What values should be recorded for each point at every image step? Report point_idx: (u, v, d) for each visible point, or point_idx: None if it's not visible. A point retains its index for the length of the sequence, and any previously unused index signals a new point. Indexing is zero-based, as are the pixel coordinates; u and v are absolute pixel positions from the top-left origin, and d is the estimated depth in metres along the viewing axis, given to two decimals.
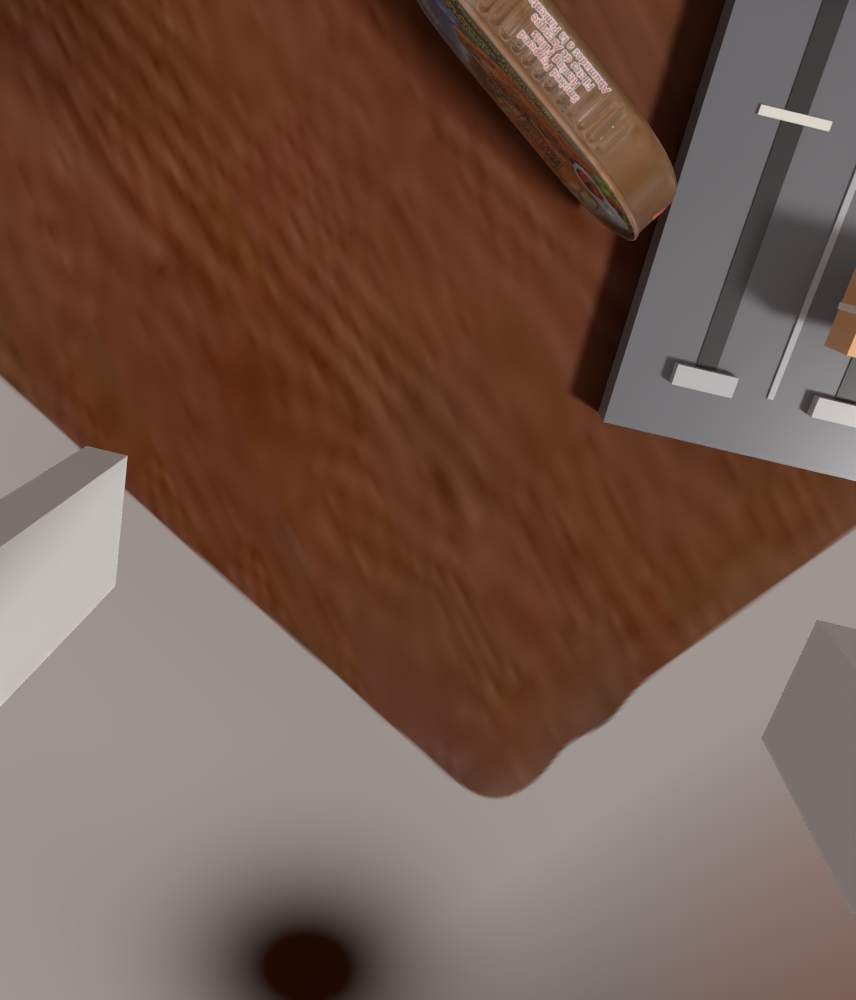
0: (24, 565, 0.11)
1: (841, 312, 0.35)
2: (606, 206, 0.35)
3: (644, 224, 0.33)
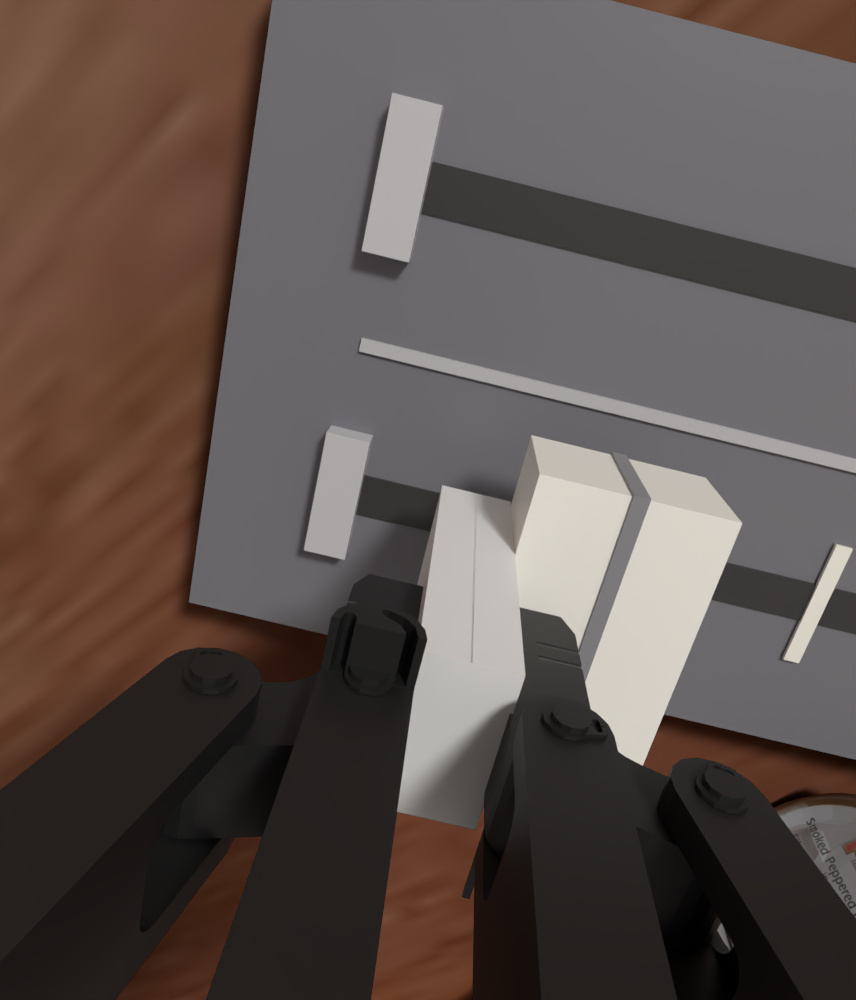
0: None
1: None
2: None
3: None
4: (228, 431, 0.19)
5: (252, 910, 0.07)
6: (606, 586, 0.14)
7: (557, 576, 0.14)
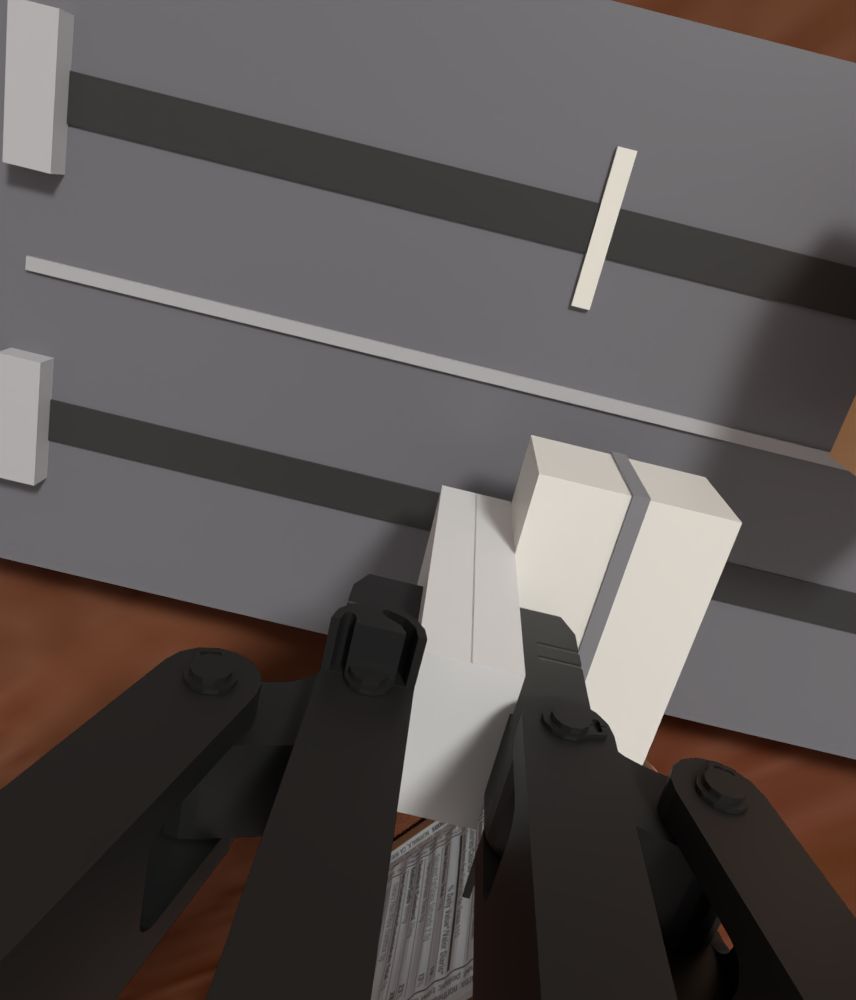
0: None
1: None
2: None
3: None
4: None
5: (252, 910, 0.07)
6: (605, 586, 0.14)
7: (557, 575, 0.14)
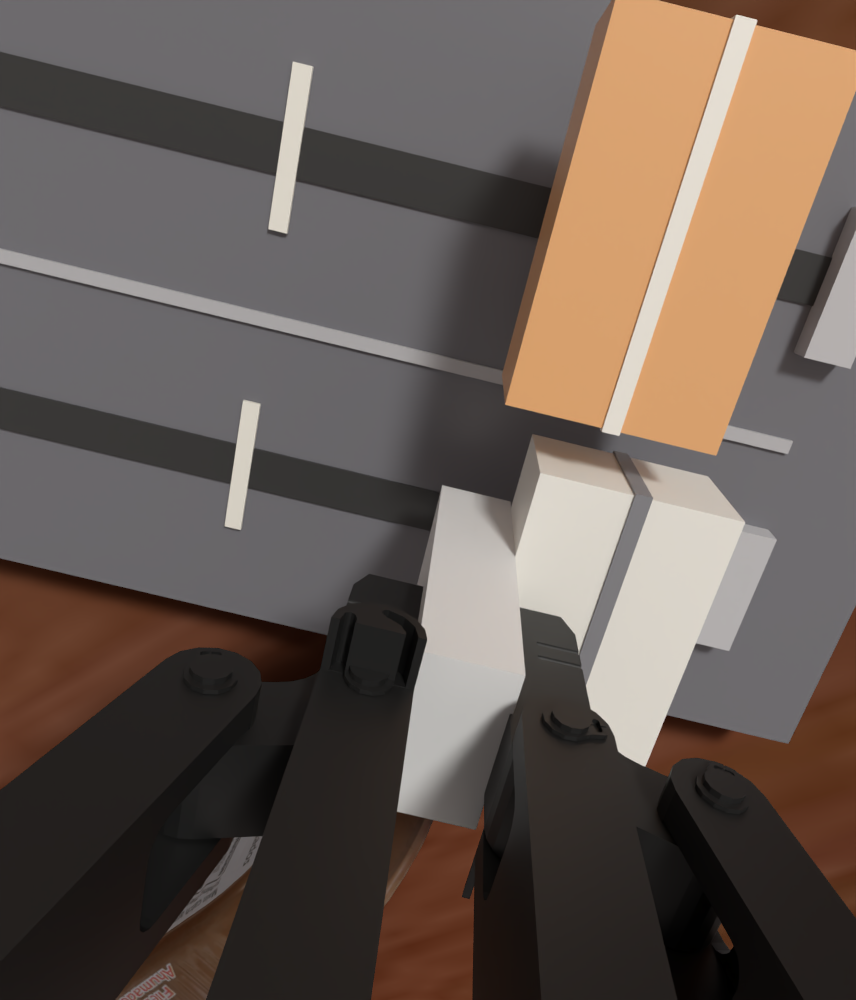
0: None
1: None
2: None
3: None
4: None
5: (252, 910, 0.07)
6: (607, 585, 0.14)
7: (559, 575, 0.14)
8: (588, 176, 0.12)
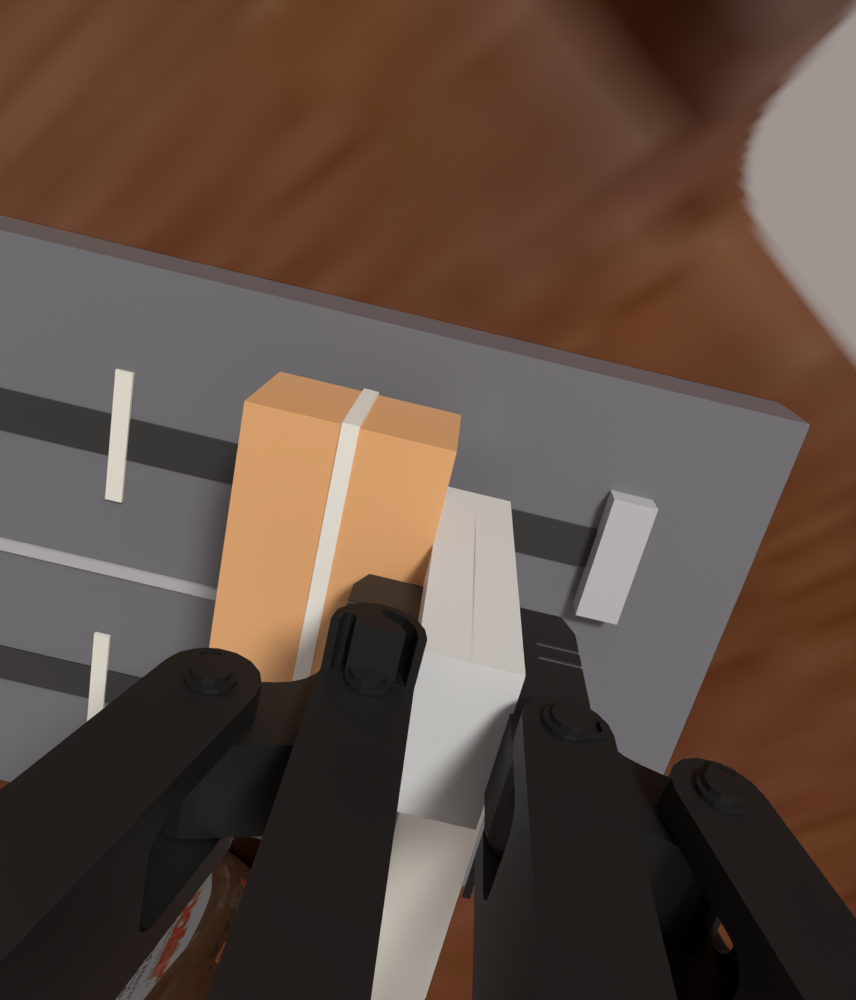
0: None
1: None
2: None
3: None
4: None
5: (252, 910, 0.07)
6: None
7: None
8: (243, 533, 0.14)
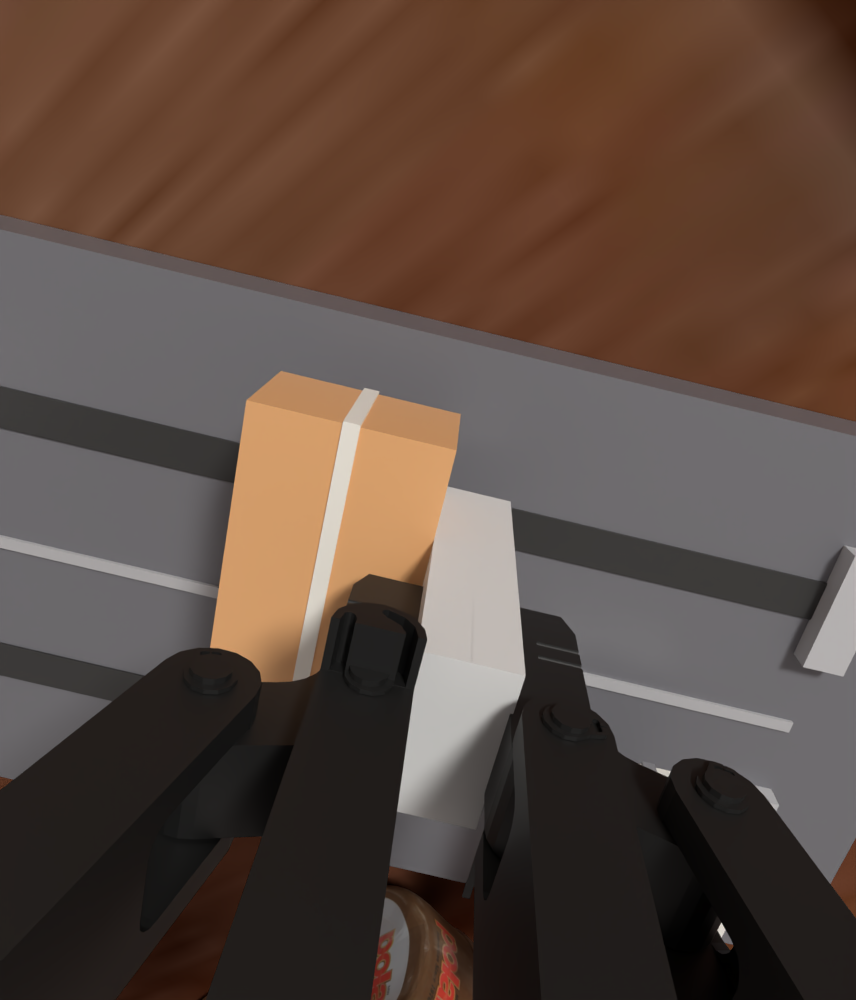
0: None
1: None
2: None
3: None
4: None
5: (252, 910, 0.07)
6: None
7: None
8: (245, 531, 0.14)
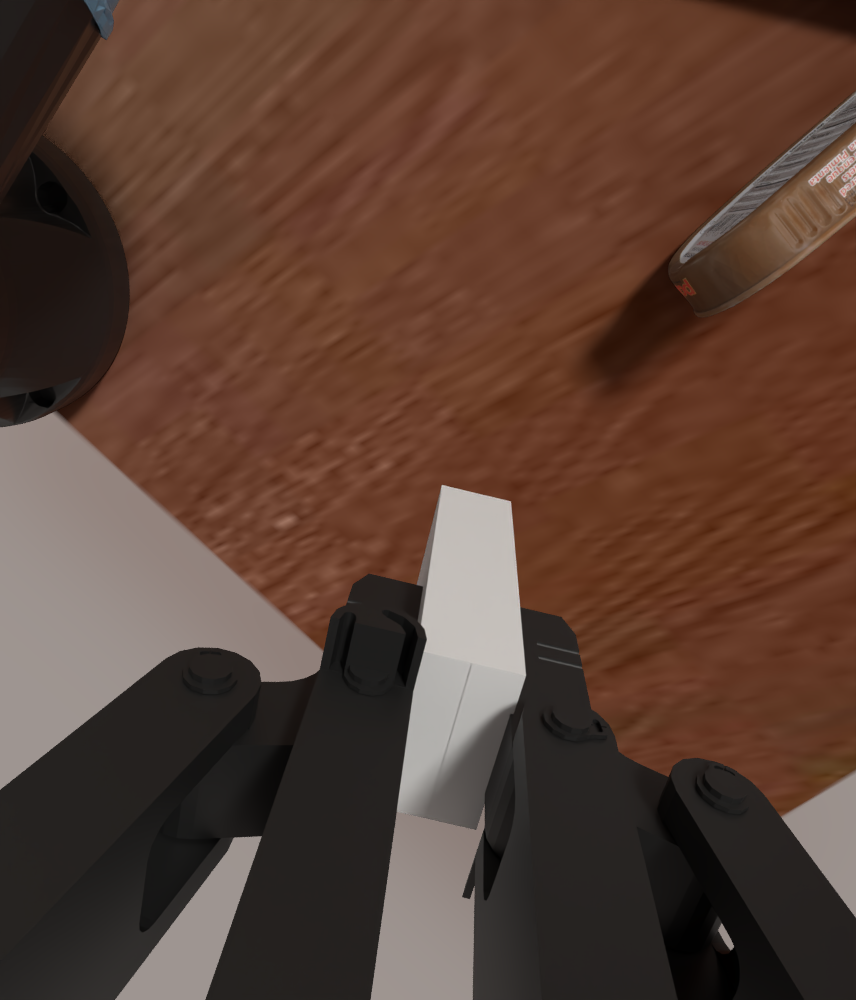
0: None
1: None
2: None
3: None
4: None
5: (252, 910, 0.07)
6: None
7: None
8: None
